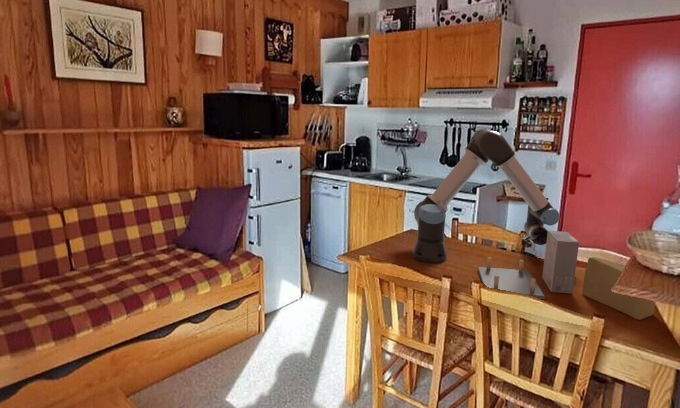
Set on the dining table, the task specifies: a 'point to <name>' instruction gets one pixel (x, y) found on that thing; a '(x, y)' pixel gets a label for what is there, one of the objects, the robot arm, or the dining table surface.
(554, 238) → the hard drive box
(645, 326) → the dining table surface
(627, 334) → the dining table surface
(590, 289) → the olive brown block
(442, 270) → the dining table surface
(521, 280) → the standoff base
